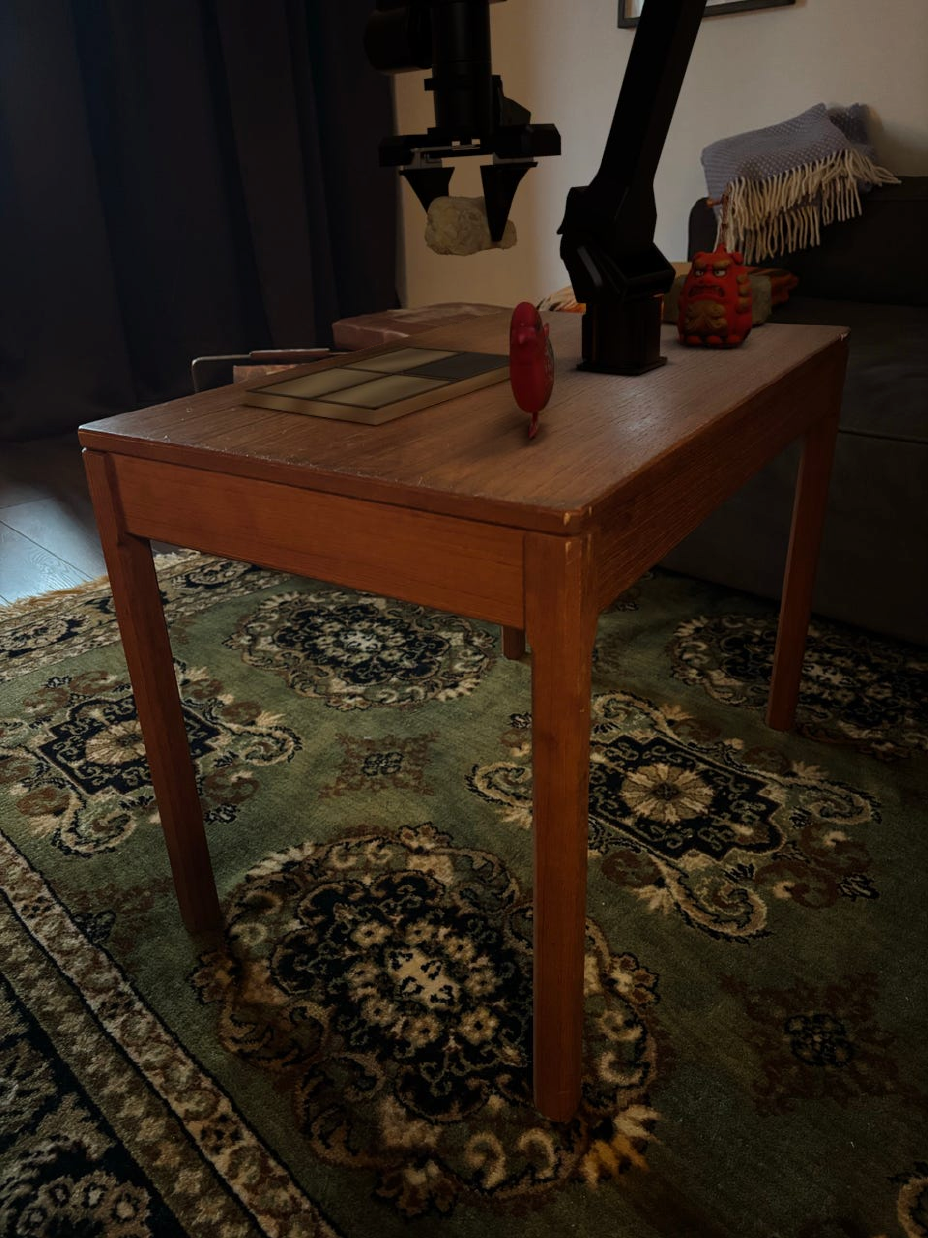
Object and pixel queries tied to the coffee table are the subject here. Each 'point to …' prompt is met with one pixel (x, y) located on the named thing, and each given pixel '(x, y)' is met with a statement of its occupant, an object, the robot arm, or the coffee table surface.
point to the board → (384, 384)
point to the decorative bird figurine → (530, 362)
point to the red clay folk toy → (716, 295)
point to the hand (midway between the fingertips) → (471, 241)
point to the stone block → (759, 293)
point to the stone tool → (463, 227)
